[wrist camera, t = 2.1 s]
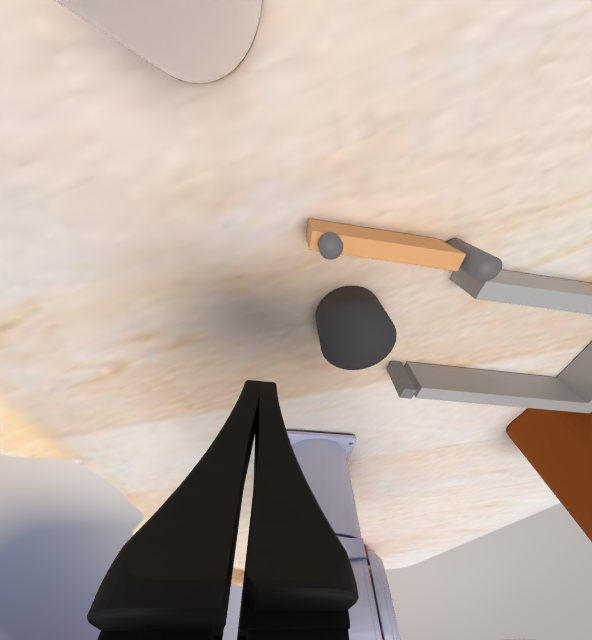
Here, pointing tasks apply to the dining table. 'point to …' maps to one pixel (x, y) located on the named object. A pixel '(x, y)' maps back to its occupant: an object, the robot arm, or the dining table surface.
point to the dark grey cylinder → (354, 328)
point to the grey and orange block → (560, 456)
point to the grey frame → (504, 387)
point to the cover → (400, 248)
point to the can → (178, 32)
